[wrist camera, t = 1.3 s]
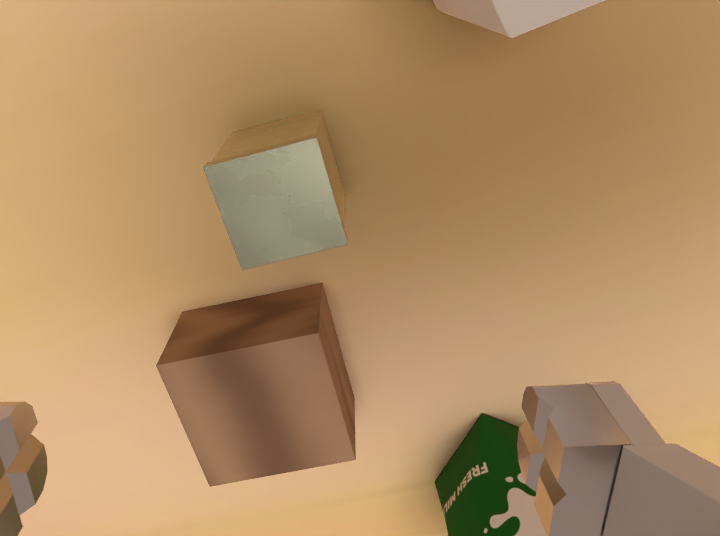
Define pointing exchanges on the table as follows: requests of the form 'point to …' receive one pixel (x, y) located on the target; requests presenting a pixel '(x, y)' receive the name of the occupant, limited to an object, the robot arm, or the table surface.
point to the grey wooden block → (279, 190)
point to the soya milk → (488, 485)
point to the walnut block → (261, 385)
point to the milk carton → (511, 13)
